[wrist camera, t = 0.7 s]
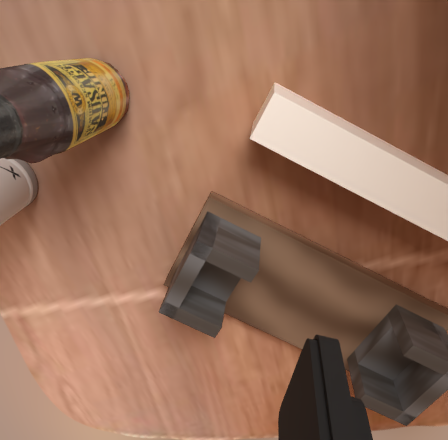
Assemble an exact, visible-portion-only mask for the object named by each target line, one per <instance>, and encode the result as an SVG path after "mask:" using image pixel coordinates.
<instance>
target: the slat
mask: <svg viewBox="0 0 448 440" xmlns="http://www.w3.org/2000/svg"><path fill="white" fill-rule="evenodd" d="M250 139H251V140H253V141H255V142H257V143H259V144H261V145H263V146H265V147H267V148H269V149H270V150H272V151H274V152H276V153H278V154H280V155H282V156H284V157H286V158H288V159H290V160H292V161H294V162H296V163H298V164H299V165H301V166H303V167H305V168H307V169H309V170H311V171H313V172H315V173H317V174H319V175H321V176H323V177H325V178H327V179H329V180H330V181H332V182H334V183H336V184H338V185H340V186H342V187H344V188H346V189H348V190H350V191H352V192H354V193H356V194H358V195H359V196H361V197H363V198H365V199H367V200H369V201H371V202H373V203H375V204H377V205H379V206H381V207H383V208H385V209H387V210H389V211H390V212H392V213H394V214H396V215H398V216H400V217H402V218H404V219H406V220H408V221H410V222H412V223H414V224H416V225H418V226H419V227H421V228H423V229H425V230H427V231H429V232H431V233H433V234H435V235H437V236H439V237H441V238H443V239H445V240H447V241H448V175H447V174H445V173H443V172H441V171H439V170H437V169H436V168H434V167H432V166H430V165H428V164H426V163H424V162H423V161H421V160H419V159H417V158H415V157H413V156H411V155H410V154H408V153H406V152H404V151H402V150H400V149H398V148H396V147H395V146H393V145H391V144H389V143H387V142H385V141H383V140H382V139H380V138H378V137H376V136H374V135H372V134H370V133H369V132H367V131H365V130H363V129H361V128H359V127H357V126H355V125H354V124H352V123H350V122H348V121H346V120H344V119H342V118H341V117H339V116H337V115H335V114H333V113H331V112H329V111H328V110H326V109H324V108H322V107H320V106H318V105H316V104H314V103H313V102H311V101H309V100H307V99H305V98H303V97H301V96H300V95H298V94H296V93H294V92H292V91H290V90H288V89H287V88H285V87H283V86H281V85H279V84H277V83H275V82H274V84H273V86H272V88H271V90H270V92H269V93H268V95H267V97H266V99H265V101H264V103H263V105H262V107H261V109H260V111H259V113H258V114H257V116H256V118H255V120H254V122H253V126H252V130H251V135H250Z"/></svg>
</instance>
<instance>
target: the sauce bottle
mask: <svg viewBox="0 0 448 440" xmlns="http://www.w3.org/2000/svg"><path fill="white" fill-rule="evenodd" d="M128 105H129V90H128V86H127V83H126V82H125V80H124V78H123V77H122V75H121V74H120V73H119V72H118V70H116V69H115V68H114V67H113V66H112V65H111V64H109V63H105V62H102V61H100V60H97V59H92V58H84V59H72V60H58V61H48V62H38V63H31V64H24V65H19V66H13V67H7V68H0V159H1V158H5V159H19V160H23V161H26V162H29V163H36V162H40V161H42V160H44V159H46V158H48V157H50V156H52V155H54V154H58V153H62V152H64V151H66V150H68V149H70V148H72V147H74V146H76V145H78V144H80V143H82V142H84V141H86V140H88V139H90V138H92V137H93V136H96V135H98V134H100V133H102V132H104V131H105V130H107V129H109V128H111V127H113V126H114V125H116V124H117V123H118V122H119V121H120V120H121V119H122V117H123V116H124V115H125V113H126V112H127V110H128Z"/></svg>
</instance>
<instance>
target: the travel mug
mask: <svg viewBox="0 0 448 440" xmlns="http://www.w3.org/2000/svg"><path fill="white" fill-rule="evenodd" d="M37 191H38V184H37V179H36V176H35V174H34V172H33V170H32V169H31V167H30V166H29V165H28V164H27V163H26V162H25V161H23V160H19V159H5V158H1V159H0V225H2V224H3V223H4V222H6V221H7V220H8V219H10V218H11V217H12V216H14V215H15V214H17V213H18V212H19V211H21V210H22V209H23V208H25V207H26V206H27V205H29V204H30V203H31V202H32V201H33V200H34V199H35V197H36V195H37Z"/></svg>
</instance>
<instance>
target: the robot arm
mask: <svg viewBox="0 0 448 440" xmlns="http://www.w3.org/2000/svg"><path fill="white" fill-rule="evenodd" d="M278 427H279V440H373V438H372V434H371V430H370V425H369V421H368V417H367V413H366V409H365V406H364V403H363V401H362V400H361V399H358V398H354V397H351V396H350V391H349V386H348V381H347V376H346V372H345V367H344V362H343V357H342V352H341V347H340V343H339V340H338V339H334V338H330V337H326V336H321V335H315V336H314V338H313V339H309V338H307V339H306V341H305V344H304V346H303V349H302V352H301V354H300V357H299V360H298V362H297V365H296V367H295V370H294V373H293V375H292V378H291V381H290V383H289V386H288V388H287V391H286V394H285V396H284V399H283V402H282V404H281V407H280V411H279V421H278Z"/></svg>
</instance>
